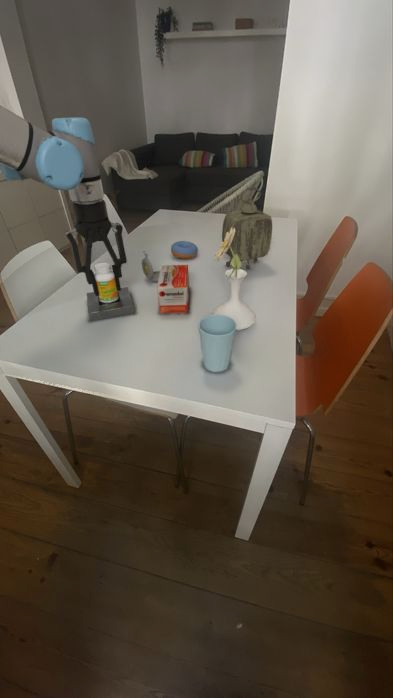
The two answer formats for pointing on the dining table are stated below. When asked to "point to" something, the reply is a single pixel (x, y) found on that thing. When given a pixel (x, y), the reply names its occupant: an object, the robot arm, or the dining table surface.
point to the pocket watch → (149, 270)
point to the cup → (216, 341)
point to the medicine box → (173, 289)
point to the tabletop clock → (248, 231)
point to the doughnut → (184, 249)
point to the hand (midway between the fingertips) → (107, 291)
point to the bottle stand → (110, 306)
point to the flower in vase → (234, 289)
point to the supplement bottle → (105, 283)
